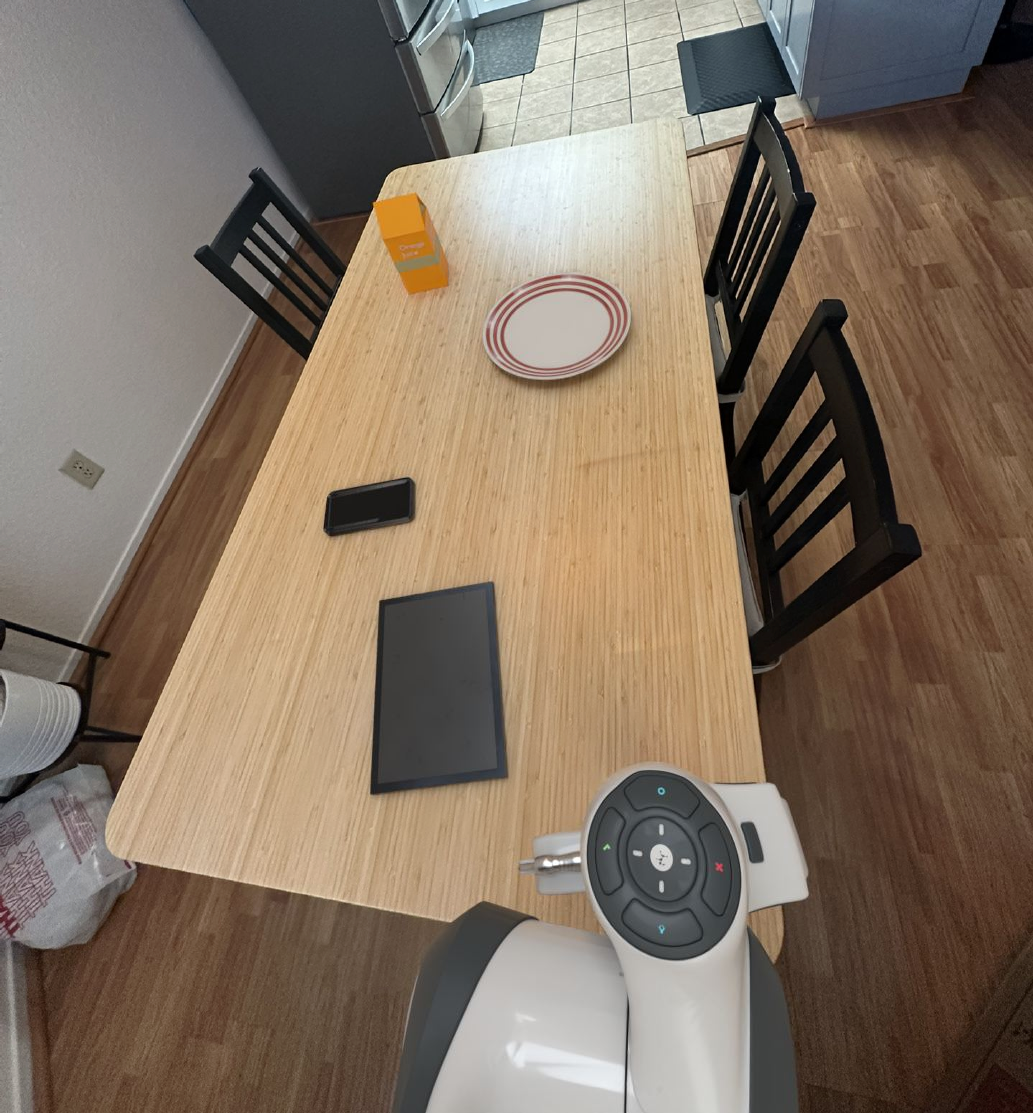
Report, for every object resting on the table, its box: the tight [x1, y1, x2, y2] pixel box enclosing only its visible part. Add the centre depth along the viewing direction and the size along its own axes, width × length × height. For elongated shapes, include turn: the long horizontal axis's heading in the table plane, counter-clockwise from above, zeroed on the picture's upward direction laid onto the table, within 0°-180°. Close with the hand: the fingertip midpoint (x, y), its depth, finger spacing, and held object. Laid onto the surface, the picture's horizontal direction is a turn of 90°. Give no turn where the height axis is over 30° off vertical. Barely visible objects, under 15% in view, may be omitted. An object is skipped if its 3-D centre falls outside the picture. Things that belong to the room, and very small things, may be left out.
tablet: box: [369, 581, 509, 796], centre depth 77 cm, size 24×17×1 cm
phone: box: [322, 476, 416, 537], centre depth 94 cm, size 8×1×15 cm
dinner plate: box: [481, 271, 632, 381], centre depth 107 cm, size 27×27×3 cm
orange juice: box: [372, 191, 449, 295], centre depth 118 cm, size 8×9×20 cm
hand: (662, 849), depth 50 cm, fingers closed
